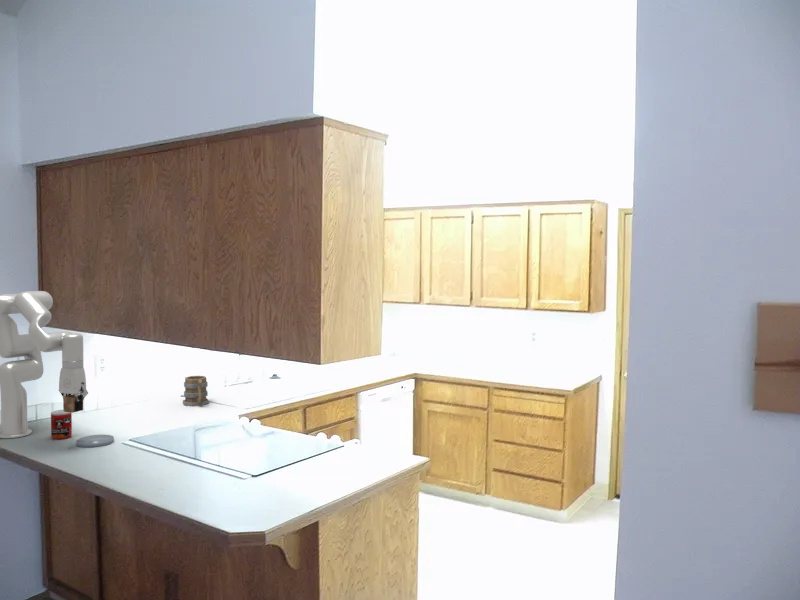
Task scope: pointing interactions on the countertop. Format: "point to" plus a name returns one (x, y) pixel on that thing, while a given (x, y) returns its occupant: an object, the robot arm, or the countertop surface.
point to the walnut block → (69, 403)
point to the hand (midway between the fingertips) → (73, 409)
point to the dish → (94, 441)
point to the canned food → (61, 425)
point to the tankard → (195, 391)
